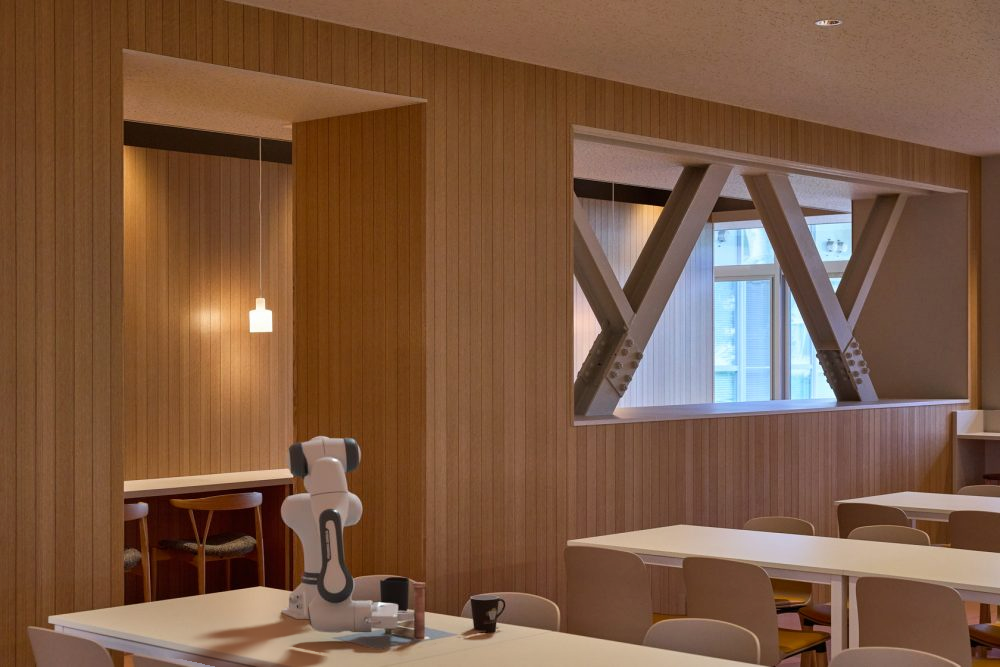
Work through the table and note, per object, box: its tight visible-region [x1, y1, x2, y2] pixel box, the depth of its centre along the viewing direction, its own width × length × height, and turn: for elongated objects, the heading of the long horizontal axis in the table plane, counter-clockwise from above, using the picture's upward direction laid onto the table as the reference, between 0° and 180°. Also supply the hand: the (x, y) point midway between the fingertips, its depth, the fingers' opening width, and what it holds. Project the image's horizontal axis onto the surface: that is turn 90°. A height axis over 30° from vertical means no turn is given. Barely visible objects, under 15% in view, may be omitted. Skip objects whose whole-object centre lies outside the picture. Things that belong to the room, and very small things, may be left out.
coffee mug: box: [469, 594, 506, 634], centre depth 372 cm, size 12×9×10 cm
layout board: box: [333, 626, 459, 650], centre depth 361 cm, size 22×29×1 cm
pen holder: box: [379, 576, 410, 611], centre depth 408 cm, size 9×9×10 cm
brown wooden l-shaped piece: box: [392, 581, 427, 639], centre depth 360 cm, size 13×4×16 cm, turn 46°
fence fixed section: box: [385, 619, 414, 634], centre depth 370 cm, size 15×3×2 cm, turn 140°
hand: (414, 615), depth 356 cm, fingers closed, pressing on brown wooden l-shaped piece
